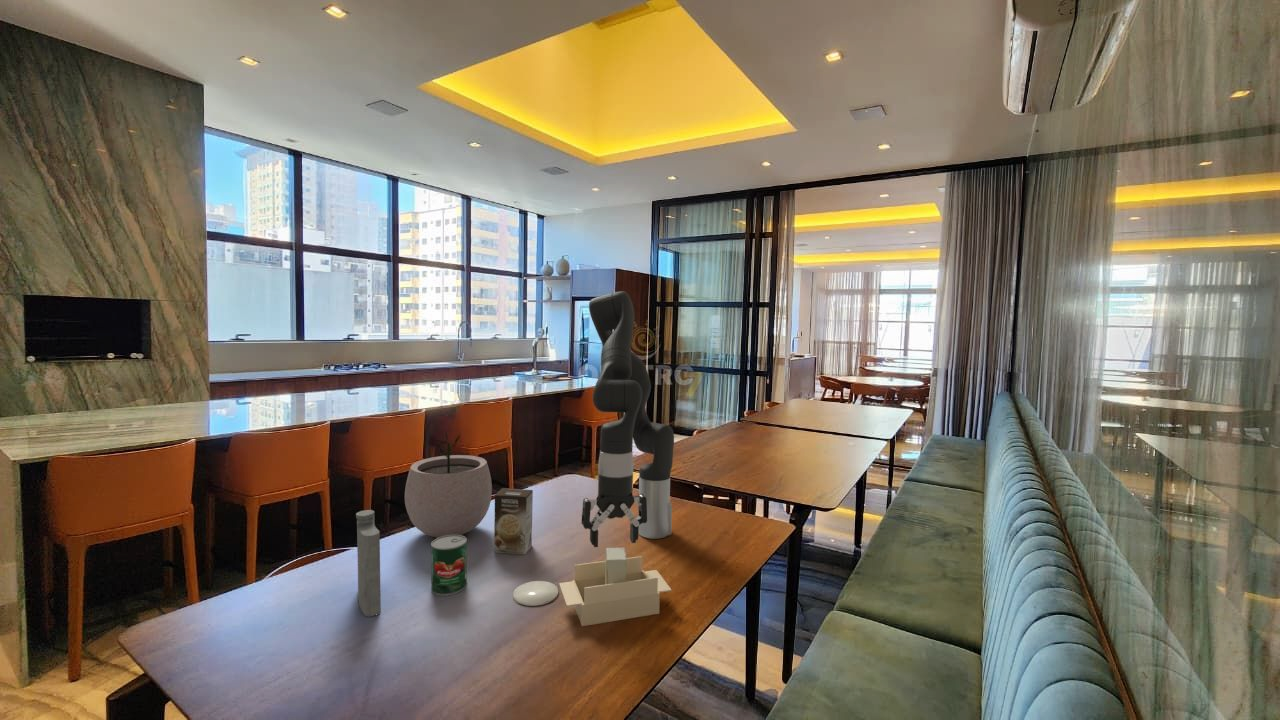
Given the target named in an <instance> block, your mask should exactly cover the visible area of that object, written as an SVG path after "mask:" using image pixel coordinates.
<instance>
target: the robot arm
mask: <svg viewBox="0 0 1280 720" xmlns="http://www.w3.org/2000/svg"><path fill="white" fill-rule="evenodd" d="M634 308H635V307H634V303H633V301H632V299H631V297H630V295H629V293H628V292H626V291H624V290H621V291H620V290H619V291H615V292H611V293H607V294H604V295H600V296H598V297H594V298H592V299H590V300H589V303H588V309H589V314H590V318H591V320H592V323H593V326H594V328H595V330H596V332H597V335H598V337H599V340H600V341H601V344H602V350H601V352H600V353H601V354H600V373H599V374H600V375H598V378H597V381H596V384H595V385H594V388H593V391H592V402H593V403H592V404H593V405H594V407H595V408H596V410H598V411H599V412H601V413H624V415H623V416H622V417H621V418H620V419H618V420H615V421H609V422H606V423H603V425H602V426H601V428H600V435H599V437H600V439H599V441H600V442H599V445H600V446H599V457H598V474H597V475H598V480H597V481H598V485H597V487H598V488H597V497H596V498H593V499H589V498H588V497H584V498H583V501H582V513H581V522H580V523H581V524H582V526H583V528H584V529H585V530H589V542H590V543H591V545H593V548H597V547H598V548H599V530H598V529H599V527H600V526H601V524H603V523H605V521H606V519H607V518H608V519H610V520H612V519H615V518H620V519H623V518H624V516H626V517H627V518H628V520H629V521H630V522H631V523H630V524H629V525H630V527H629V528H630V530H629V540H630V541H629V542H631V544H636V543H637V541H638V540H639V536H641V537H643V538H646V539H649V540H651V539H652V540H653V539H654V540H658V539H663V538H666V537H668V536H671V535H672V528H673V527H672V522H673V521H672V520H673V504H672V502H671V500H670V499H671V497H670V496H671V494H670V493H671V471H672V467H673V460H674V448H675V447H674V446H675V434H674V430H673V428H672V427H671V426H670V425H668V424H665V423H658V422H652V421H650V418H649V416H648V414H647V410H646V409H647V408H646V406H647V402H648V399H649V397H650V393H651V391H652V390H651V388H652V383H651V379H650V376H649V372H648V370H647V367H646V364H645V363H644V361H643V360H642V359H641V358H640V357H639V356H637V355H636V354H635V353H634V352H632V351H631V350H632V347H631V346H632V341H633V335H634V334H633V333H634V328H635V327H634V325H635V309H634ZM612 330H613V332H612ZM633 443H634V445H635V448H636V449H637V450H638V451H640V452H642V453H645V454H649V455H653V458H652V462H649V463H645V464H642V465H641V466H640V467H639V472H638V473H639V474H638V475H639V476H638V478H639V479H638V495H633V489H634V484H633V483H634V470H635V465H634V455H633ZM634 503H636V505H637V507H638V516H637V517H635V515H634V514H633V512H632V511H631V508H632V506H633V505H634ZM595 506H597V508H598V510H597V512H595V514H594V517H592V520H591V511H592V510H594V507H595Z"/></svg>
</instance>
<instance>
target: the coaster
mask: <svg viewBox="0 0 1280 720" xmlns="http://www.w3.org/2000/svg"><path fill="white" fill-rule="evenodd" d="M558 595H559V589H558V586H557V585H555V584H554V583H552V582H550V581H546V580H545V581H544V580H534V581H528V582H524V583H522V584H521V585H519V586H517V587H515V589H514V591H513V600H514V601H515V602H516V603H518V604H519V605H523V606H525V607H526V606H527V607H528V606H529V607H537V606H542V605H546V604H549V603H551V602H553V601H554V600H556V599H557V597H558Z"/></svg>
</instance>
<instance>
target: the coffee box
mask: <svg viewBox="0 0 1280 720" xmlns="http://www.w3.org/2000/svg"><path fill="white" fill-rule="evenodd" d="M533 494H534V491H533V489H523V488H522V489H521V488H509V487H508V488H507V487H502V488H501V489H500V490H498V491H497V492H496V493H495V494H494V527H493V528H494V530H493V531H494V533H493V535H494V536H493V537H494V541H493V544H494V545H493V553H496V554H497V553H498V554H499V553H500V554H511V555H512V554H513V555H514V554H515V555H526V554H527V553H528V552H529V550H530V549H531V547H532V545H533V506H534V505H533V497H534V495H533Z"/></svg>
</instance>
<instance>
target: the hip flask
mask: <svg viewBox="0 0 1280 720" xmlns="http://www.w3.org/2000/svg"><path fill="white" fill-rule="evenodd" d="M355 518H356V534H357V536H356V538H357V539H356V541H357V542H356V543H357V544H356V545H357V583H358V584H357V596H358V598H357V599H358V605H359V609H360V608H361V609H360V611H361V610H362V611H361V613H362V612H363V613H362V614H364V615H365V616H373V617H375V616H374V615H376V614H378V615H379V614H381V612H382V611H381V610H382V609H381V608H382V607H381V605H382V604H381V595H382V594H381V547H380V546H381V543H380V542H381V540H380V539H381V537H380V535H381V534H380V533H381V531H380V530H379V529H378V528H377V527H376V524H375V523H376V522H375V520H376V519H375V511H374V510H373V509H365V510H360V511H358V512H356V513H355ZM364 615H363V616H364ZM365 616H364V617H365ZM376 616H377V615H376Z"/></svg>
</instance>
